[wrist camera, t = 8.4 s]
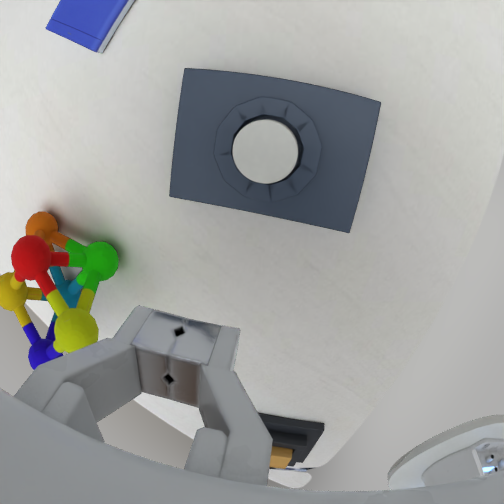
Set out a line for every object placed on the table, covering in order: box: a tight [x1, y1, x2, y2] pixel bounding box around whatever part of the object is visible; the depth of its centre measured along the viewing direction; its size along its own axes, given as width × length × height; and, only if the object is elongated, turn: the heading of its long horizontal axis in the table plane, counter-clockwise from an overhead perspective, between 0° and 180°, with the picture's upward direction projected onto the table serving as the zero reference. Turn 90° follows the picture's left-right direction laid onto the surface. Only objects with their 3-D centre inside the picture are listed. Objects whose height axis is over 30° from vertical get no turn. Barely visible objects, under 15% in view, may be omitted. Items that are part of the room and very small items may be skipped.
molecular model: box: [0, 212, 119, 370], centre depth 25 cm, size 15×12×15 cm
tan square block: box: [269, 446, 293, 469], centre depth 35 cm, size 4×4×2 cm
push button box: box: [169, 68, 381, 233], centre depth 21 cm, size 14×10×4 cm
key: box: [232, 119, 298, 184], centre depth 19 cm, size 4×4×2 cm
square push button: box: [258, 413, 324, 466], centre depth 37 cm, size 10×10×3 cm
